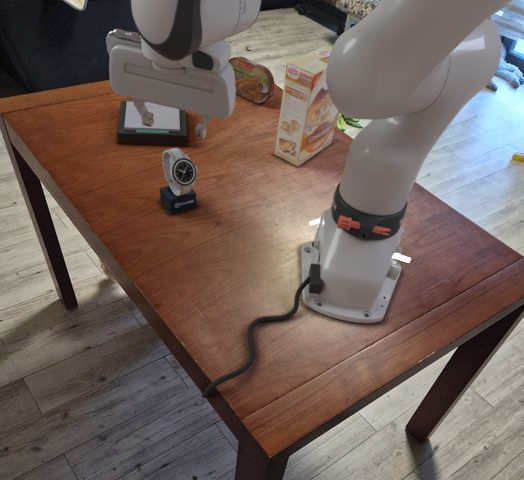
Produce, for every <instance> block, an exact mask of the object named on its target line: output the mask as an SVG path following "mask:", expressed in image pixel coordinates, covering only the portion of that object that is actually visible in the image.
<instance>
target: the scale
mask: <svg viewBox="0 0 524 480" xmlns="http://www.w3.org/2000/svg"><path fill="white" fill-rule="evenodd" d="M144 103H145V105H146V107H147V109H148V111H149V112H151V113H153V119H154V123H153V125H152V126H151V127H149V126H144V125H142V118H141V115H140V114H139V112H138V111H137V109H136V107H135V106H134V102H133V100H120V105H119V113H118V122H117V123H118V124H117V132H116V135H117V142H118V144H119V145H122V144H123V145H124V144H125V145H150V146H151V145H155V146H181V147H182V146H183V147H184V146H186V147H187V146H188V129H187V111H185V110H180V109H176V108H171V107H167V106H163V105H158V104H154V103H150V102H144Z"/></svg>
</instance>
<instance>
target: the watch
mask: <svg viewBox="0 0 524 480" xmlns="http://www.w3.org/2000/svg"><path fill="white" fill-rule="evenodd" d="M161 164H162V168H163V173H164V178H165V180H166V183H167V184H168V185H166V186H163V187H159V199H160V204H161V205H162V207H164V208H165V210H166V211H167V212H168V213H169V214H170V215H174V214H178V213H181V212H184V211H187V210H191V209H194V208H196V207H197V193H196V191H195V190H194V189H193V187H195V183H196V179H197V175H198V170H199V168H198V166H196V165H195V163H194V162H193V160H191V159H190V157H189V156H188V155H187V153H185V152H183V150H182V149H180V148H179V147H174V148H170V149H169V148H168V149H166V150H164V151H163V153H162V163H161Z"/></svg>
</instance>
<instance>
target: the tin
mask: <svg viewBox="0 0 524 480" xmlns="http://www.w3.org/2000/svg"><path fill="white" fill-rule="evenodd" d="M228 62H229V63H230V64H231V66H232V68H233V70H234V74H235V88H236V95H238V96H240V97H242V98H245V99H246V100H249V101H250V102H252V103H255V104H263V103H264V102H267V101H269V100H270V99H272V97H273V95H274V91H275V78H274V76H273V72H272V71H271V70H270V68H268V67H267V66H265V65H263V64H260V63H258V62H256V61H254V60H251V59H249V58H247V57H245V56H234V57H230V59H229V61H228Z"/></svg>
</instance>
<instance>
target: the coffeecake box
mask: <svg viewBox="0 0 524 480" xmlns="http://www.w3.org/2000/svg"><path fill="white" fill-rule="evenodd" d="M332 48H333V46H329V45H327V44H325V45H324V46H321V47H319V48H316V49H314V50H312V51H310V52H307V53H305V54H303V55H301V56H298V57H297V58H294V59H293V60H292V59H291V60H289V61H288V62H286V67H285V68H286V69H285V76H284V82H283V89H282V96H281V102H280V103H281V104H280V110H279V111H280V112H279V118H278V125H277V132H276V140H275V146H274V153H273V154H274V155H275V156H277V157H279V158H281V159H283V160H284V161H286V162H288V163H290V164H292V165H294V166H296V167H300V166H301V165H302V164H304V163H305V162H306V161H308V160H309V159H311V158H312V157H314V156H315V155H316V154H318V153H319V152H321V151H322V150H324V149H326V148H327V147H328V146H329V145H332V141H333V136H334V133H335V130H336V129H335V127H336V126H337V125H336V124H337V120H338V116H339V113H340V112H339V111H338V110H337V108H336V107H335V106H334V104H333V102H332V100H331V98H330V95H329V92H328V88H327V82H326V70H327V63H328V59H329V55H330V53H331V50H332Z"/></svg>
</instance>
